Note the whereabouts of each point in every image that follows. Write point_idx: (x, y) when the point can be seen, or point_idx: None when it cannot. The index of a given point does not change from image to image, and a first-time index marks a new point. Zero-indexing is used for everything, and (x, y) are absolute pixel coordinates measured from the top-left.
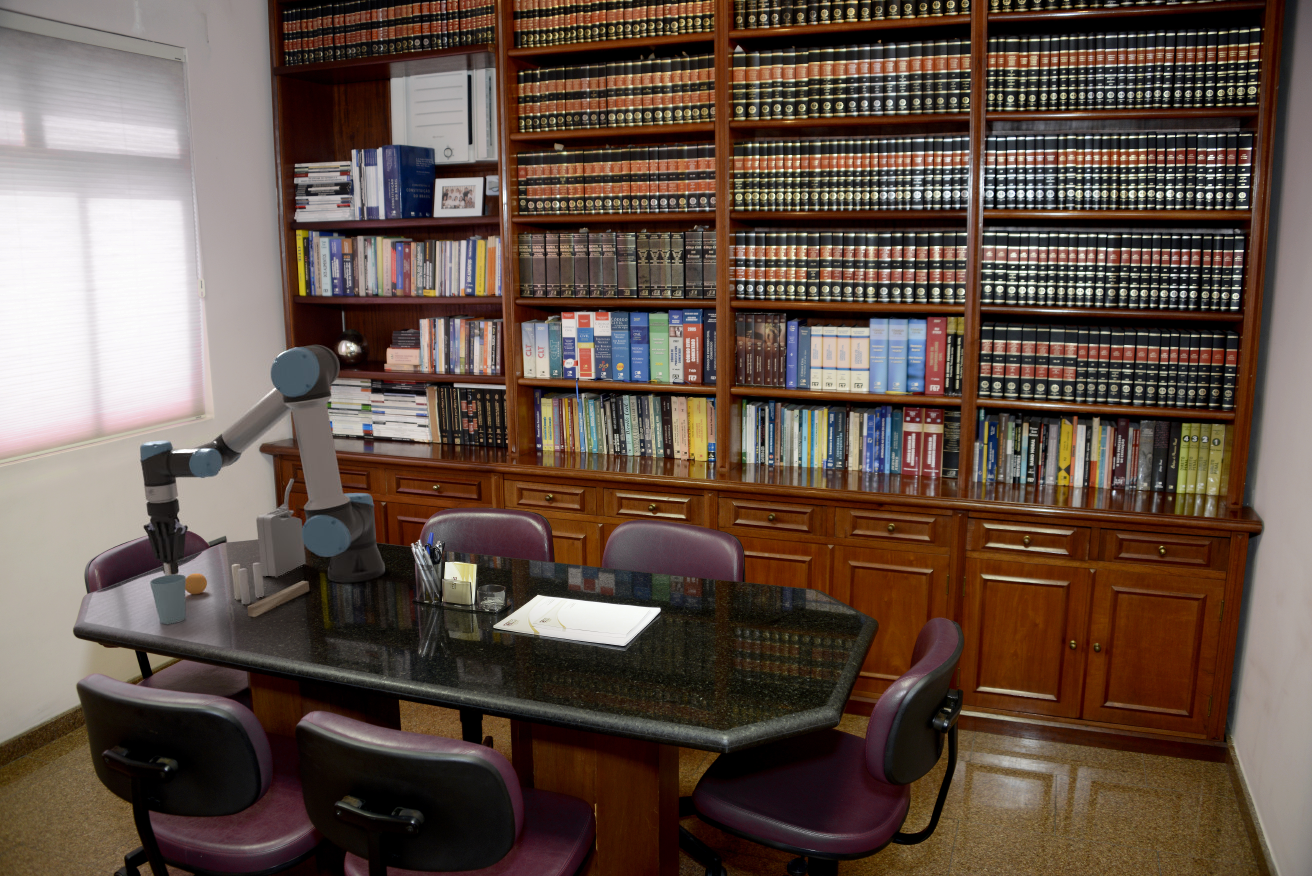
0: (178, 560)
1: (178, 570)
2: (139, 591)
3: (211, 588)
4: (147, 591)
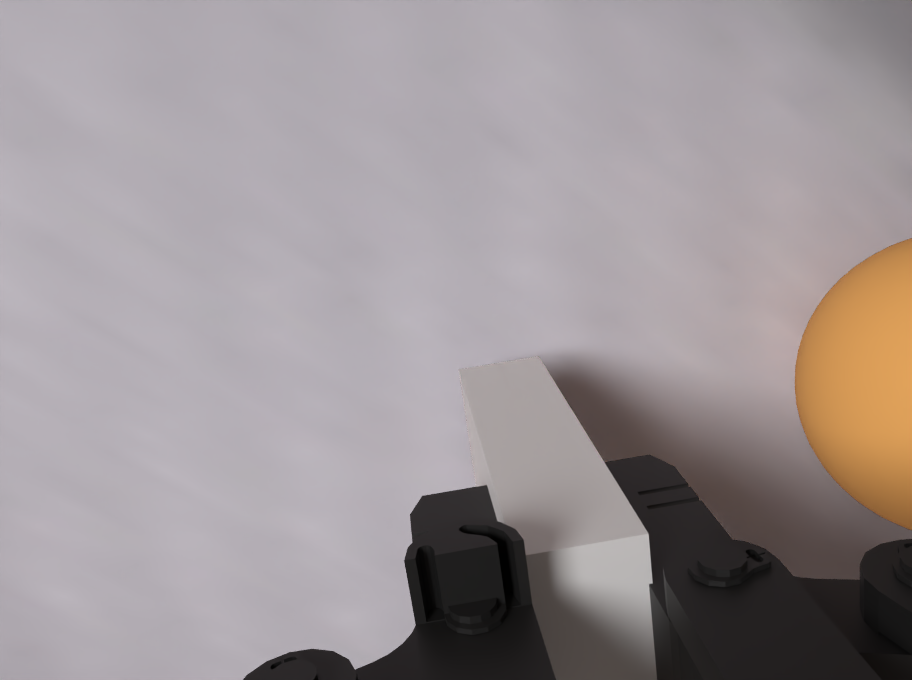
0: (807, 582)
1: (681, 477)
2: (90, 591)
3: (895, 112)
4: (187, 548)
